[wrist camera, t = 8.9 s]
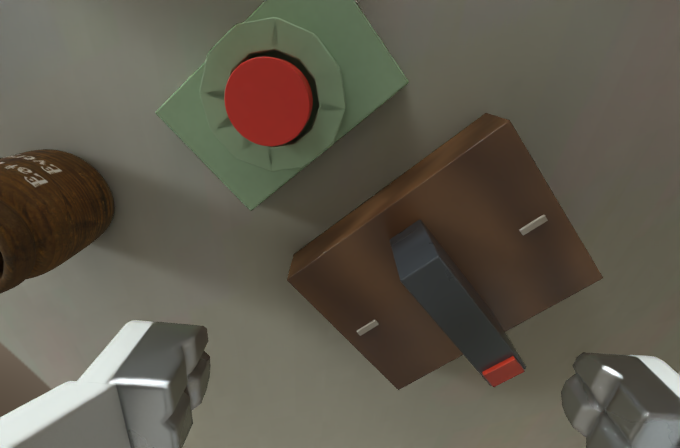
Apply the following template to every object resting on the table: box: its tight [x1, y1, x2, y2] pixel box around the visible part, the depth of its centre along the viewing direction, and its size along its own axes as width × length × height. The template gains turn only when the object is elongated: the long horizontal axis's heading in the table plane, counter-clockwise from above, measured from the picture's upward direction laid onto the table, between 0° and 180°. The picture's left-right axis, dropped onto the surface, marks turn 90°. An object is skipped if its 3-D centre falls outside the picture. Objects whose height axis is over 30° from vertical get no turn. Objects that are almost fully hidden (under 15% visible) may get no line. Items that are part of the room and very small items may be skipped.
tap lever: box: [389, 220, 526, 387], centre depth 18 cm, size 8×2×4 cm, turn 39°
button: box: [224, 56, 313, 146], centre depth 16 cm, size 4×4×2 cm
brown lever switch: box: [287, 113, 603, 390], centre depth 21 cm, size 14×11×3 cm
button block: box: [156, 0, 409, 211], centre depth 17 cm, size 11×7×3 cm, turn 129°
